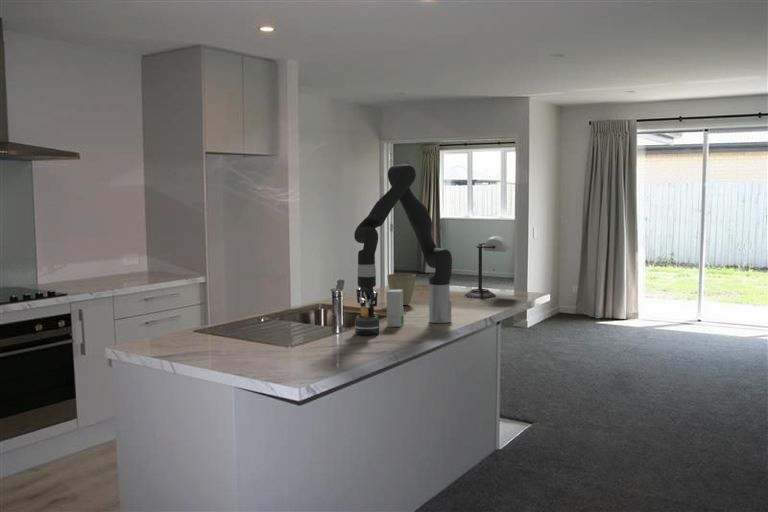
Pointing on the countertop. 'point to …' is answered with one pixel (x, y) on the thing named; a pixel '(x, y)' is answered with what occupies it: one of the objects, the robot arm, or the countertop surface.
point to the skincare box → (395, 308)
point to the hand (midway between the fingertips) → (367, 315)
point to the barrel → (367, 326)
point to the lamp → (490, 245)
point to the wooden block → (364, 312)
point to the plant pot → (402, 285)
